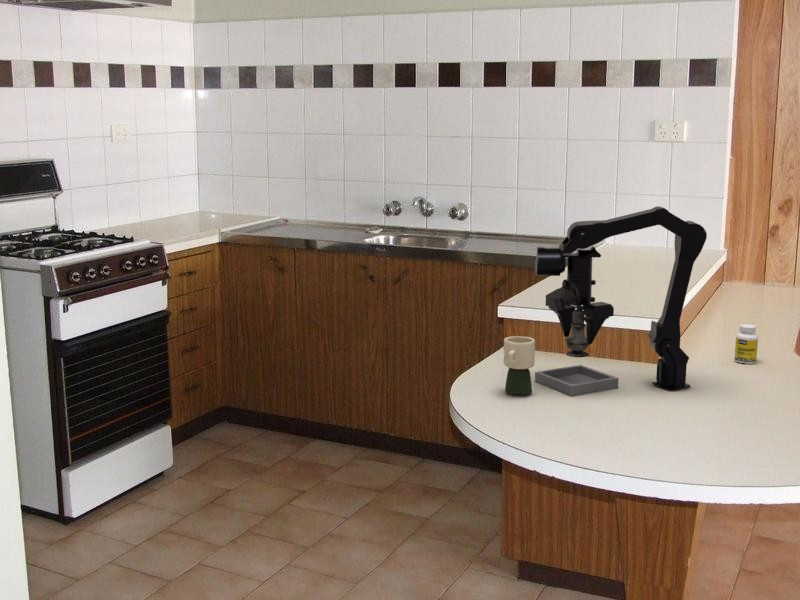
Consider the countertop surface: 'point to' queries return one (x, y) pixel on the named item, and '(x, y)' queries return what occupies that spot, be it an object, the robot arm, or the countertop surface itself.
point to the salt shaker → (577, 336)
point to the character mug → (519, 363)
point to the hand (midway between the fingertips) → (577, 340)
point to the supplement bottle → (746, 344)
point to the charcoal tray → (576, 380)
